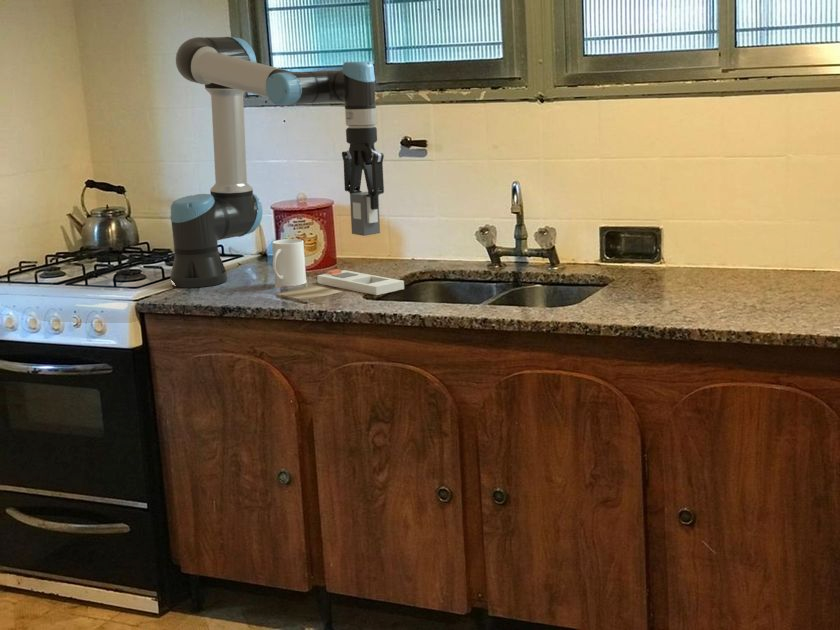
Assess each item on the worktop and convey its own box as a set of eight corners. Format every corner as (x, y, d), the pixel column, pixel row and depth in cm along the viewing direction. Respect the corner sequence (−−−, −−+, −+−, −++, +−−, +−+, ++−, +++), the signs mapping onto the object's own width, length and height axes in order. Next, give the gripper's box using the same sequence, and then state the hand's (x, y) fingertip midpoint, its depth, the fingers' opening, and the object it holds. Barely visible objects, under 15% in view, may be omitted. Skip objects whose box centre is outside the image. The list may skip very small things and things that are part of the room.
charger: (351, 233, 258) (349, 193, 256) (367, 231, 261) (365, 191, 259) (364, 235, 254) (362, 195, 252) (380, 233, 258) (378, 193, 255)
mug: (286, 293, 264) (283, 246, 261) (260, 291, 268) (256, 245, 265) (313, 284, 274) (310, 239, 271) (288, 282, 278) (284, 238, 275)
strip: (304, 284, 274) (303, 269, 273) (331, 278, 280) (330, 264, 279) (376, 298, 252) (375, 283, 252) (404, 292, 258) (403, 277, 257)
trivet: (276, 297, 259) (275, 293, 259) (314, 289, 267) (314, 285, 267) (304, 304, 250) (304, 300, 250) (343, 295, 258) (343, 291, 258)
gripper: (326, 126, 256) (331, 219, 261) (372, 128, 243) (377, 226, 248) (350, 124, 261) (354, 216, 266) (397, 126, 247) (400, 222, 253)
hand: (365, 221), depth 257 cm, fingers closed on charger, 5 cm apart
